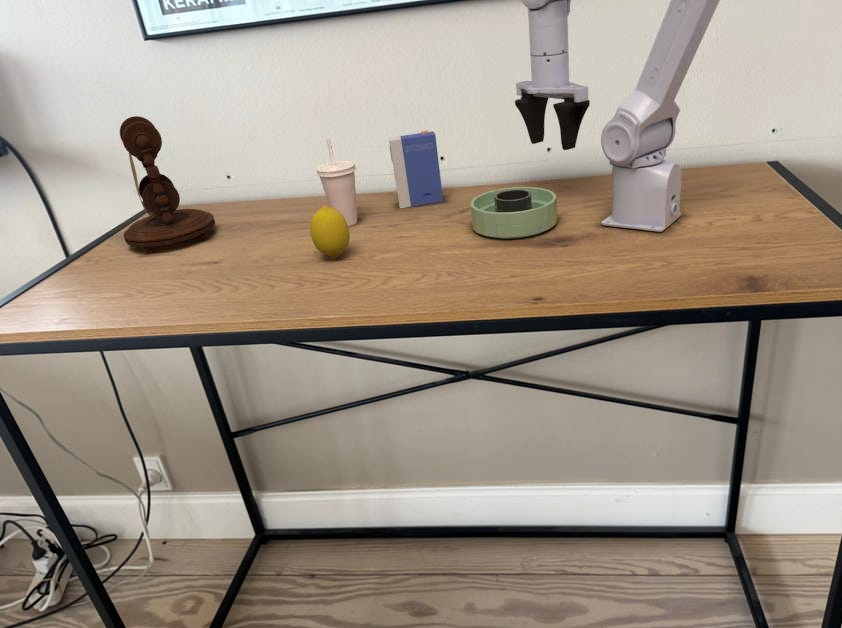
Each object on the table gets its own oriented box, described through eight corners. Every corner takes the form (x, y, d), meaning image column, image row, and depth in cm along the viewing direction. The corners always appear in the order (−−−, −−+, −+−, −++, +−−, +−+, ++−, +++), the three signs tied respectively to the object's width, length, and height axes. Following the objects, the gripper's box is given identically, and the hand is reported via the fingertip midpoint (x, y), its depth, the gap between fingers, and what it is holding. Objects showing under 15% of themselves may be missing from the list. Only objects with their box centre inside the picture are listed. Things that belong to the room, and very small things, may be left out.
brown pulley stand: (125, 238, 123) (83, 121, 113) (210, 219, 128) (176, 105, 118) (131, 262, 111) (85, 134, 101) (224, 240, 116) (189, 116, 106)
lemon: (360, 251, 105) (350, 199, 101) (342, 266, 100) (332, 212, 96) (328, 250, 107) (317, 199, 103) (309, 264, 102) (297, 212, 98)
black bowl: (539, 218, 108) (538, 190, 106) (520, 230, 104) (518, 202, 102) (509, 215, 111) (507, 188, 109) (489, 226, 107) (487, 198, 105)
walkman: (441, 197, 125) (433, 129, 119) (443, 202, 123) (435, 132, 117) (398, 204, 124) (387, 135, 118) (399, 208, 122) (388, 138, 116)
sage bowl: (572, 217, 109) (571, 190, 107) (529, 245, 100) (528, 217, 98) (501, 209, 116) (500, 184, 114) (456, 235, 107) (453, 208, 105)
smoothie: (320, 228, 116) (302, 143, 110) (340, 216, 121) (324, 134, 115) (353, 230, 114) (336, 143, 107) (372, 217, 119) (357, 133, 112)
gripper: (498, 56, 108) (505, 145, 115) (561, 59, 97) (564, 157, 104) (533, 49, 111) (538, 136, 118) (598, 51, 100) (599, 147, 107)
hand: (552, 145), depth 111 cm, fingers open, 7 cm apart
